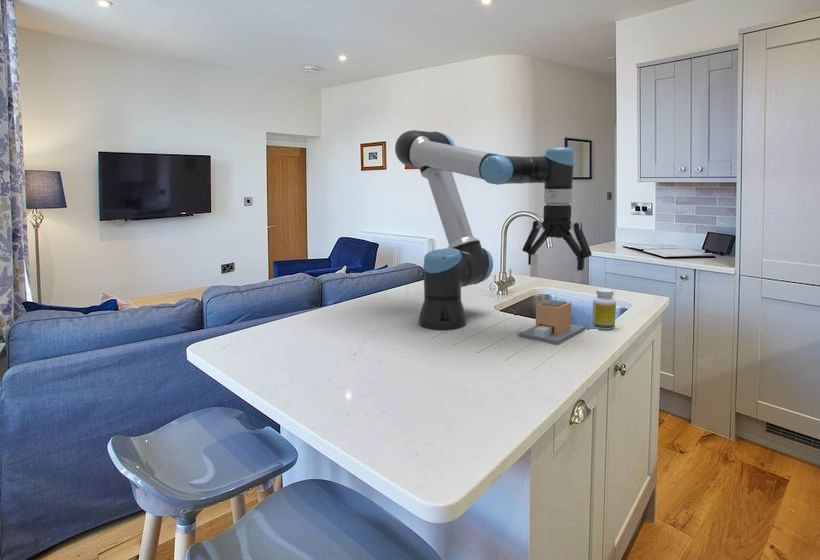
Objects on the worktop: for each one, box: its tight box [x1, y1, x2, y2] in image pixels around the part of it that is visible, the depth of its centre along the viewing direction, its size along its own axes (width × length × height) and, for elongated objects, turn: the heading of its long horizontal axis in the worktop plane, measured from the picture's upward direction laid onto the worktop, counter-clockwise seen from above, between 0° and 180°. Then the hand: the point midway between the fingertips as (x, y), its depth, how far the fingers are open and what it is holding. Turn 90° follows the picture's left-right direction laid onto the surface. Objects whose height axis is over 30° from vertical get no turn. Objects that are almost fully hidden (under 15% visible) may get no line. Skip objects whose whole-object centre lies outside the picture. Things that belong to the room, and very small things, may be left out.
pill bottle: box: [591, 288, 617, 331], centre depth 152 cm, size 6×6×12 cm
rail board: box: [518, 323, 586, 346], centre depth 148 cm, size 12×18×3 cm, turn 138°
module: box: [535, 299, 572, 335], centre depth 147 cm, size 7×8×8 cm
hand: (554, 278), depth 145 cm, fingers open, 13 cm apart
